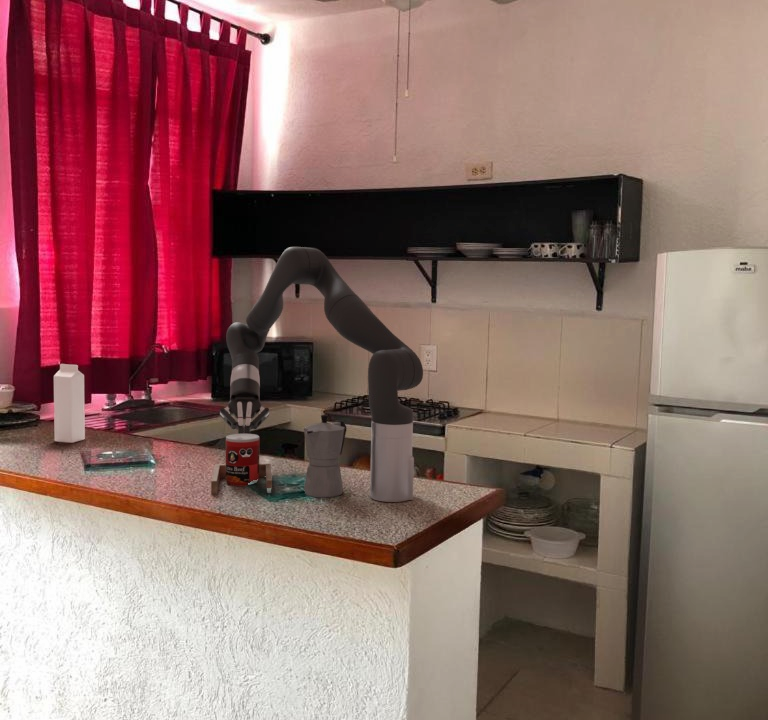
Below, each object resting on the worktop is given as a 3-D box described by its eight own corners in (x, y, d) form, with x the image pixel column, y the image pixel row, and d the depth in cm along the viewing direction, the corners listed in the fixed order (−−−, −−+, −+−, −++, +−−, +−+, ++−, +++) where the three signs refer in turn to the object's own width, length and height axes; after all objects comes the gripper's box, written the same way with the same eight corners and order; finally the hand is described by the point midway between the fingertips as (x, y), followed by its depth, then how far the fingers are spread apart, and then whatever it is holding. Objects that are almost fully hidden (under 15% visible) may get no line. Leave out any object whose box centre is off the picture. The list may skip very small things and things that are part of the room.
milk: (67, 437, 254) (66, 362, 252) (85, 439, 252) (84, 363, 250) (54, 441, 248) (53, 364, 246) (72, 443, 246) (71, 365, 244)
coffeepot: (324, 502, 189) (325, 420, 187) (289, 495, 194) (290, 416, 192) (361, 487, 202) (362, 411, 201) (327, 482, 207) (328, 407, 205)
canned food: (218, 483, 203) (219, 437, 202) (239, 476, 210) (240, 432, 209) (245, 487, 200) (245, 440, 199) (265, 481, 207) (266, 435, 206)
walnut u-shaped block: (270, 475, 212) (270, 463, 212) (271, 493, 195) (271, 480, 195) (214, 476, 210) (214, 464, 210) (211, 494, 193) (211, 481, 193)
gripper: (218, 376, 221) (216, 432, 210) (270, 376, 223) (271, 432, 212) (219, 394, 227) (217, 449, 216) (270, 394, 229) (270, 449, 218)
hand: (244, 441), depth 214 cm, fingers closed
